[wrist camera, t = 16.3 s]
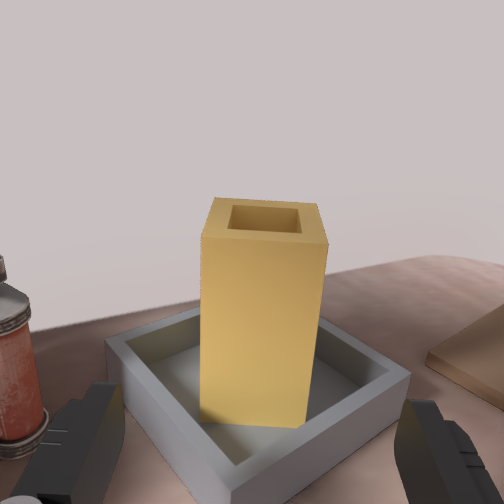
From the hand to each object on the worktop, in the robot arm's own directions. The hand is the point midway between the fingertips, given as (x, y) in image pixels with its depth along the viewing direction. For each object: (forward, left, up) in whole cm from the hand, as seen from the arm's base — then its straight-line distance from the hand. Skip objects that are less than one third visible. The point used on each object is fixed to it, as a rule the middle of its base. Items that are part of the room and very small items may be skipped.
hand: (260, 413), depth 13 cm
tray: (-8, +6, -8) cm, 13 cm away
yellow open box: (-8, +6, -8) cm, 12 cm away
